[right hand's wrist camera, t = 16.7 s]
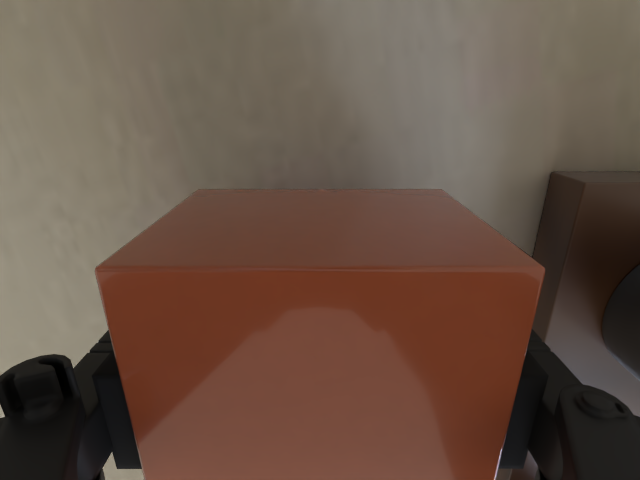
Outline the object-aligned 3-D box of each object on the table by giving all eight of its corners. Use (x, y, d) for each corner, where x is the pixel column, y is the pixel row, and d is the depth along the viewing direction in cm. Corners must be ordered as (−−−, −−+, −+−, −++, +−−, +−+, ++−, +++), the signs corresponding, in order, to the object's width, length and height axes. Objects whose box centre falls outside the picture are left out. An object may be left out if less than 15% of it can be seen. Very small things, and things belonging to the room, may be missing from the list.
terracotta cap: (196, 188, 12) (91, 268, 7) (443, 188, 12) (548, 267, 7) (220, 384, 15) (161, 556, 9) (419, 384, 15) (479, 556, 9)
